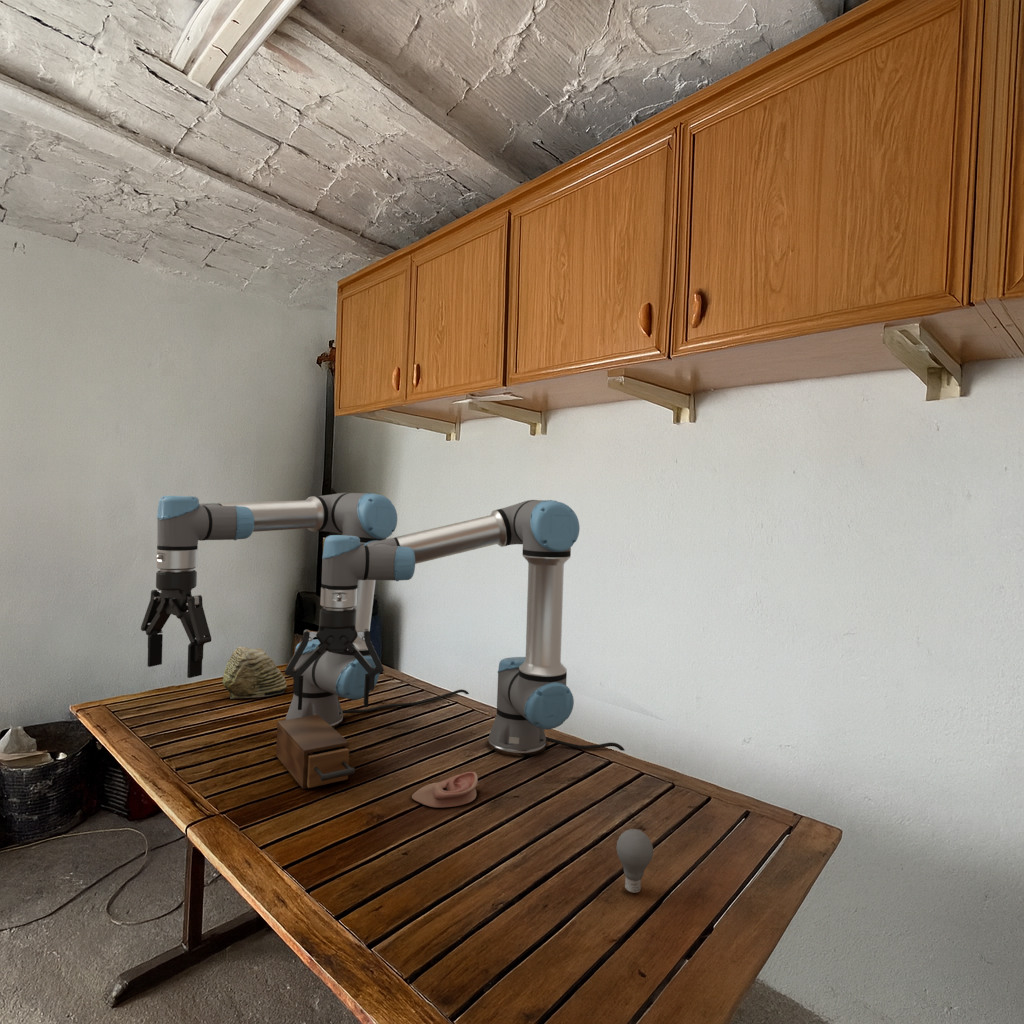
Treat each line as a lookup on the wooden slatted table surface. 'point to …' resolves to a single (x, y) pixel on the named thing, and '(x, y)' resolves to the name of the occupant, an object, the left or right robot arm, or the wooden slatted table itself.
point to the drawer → (328, 766)
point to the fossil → (252, 674)
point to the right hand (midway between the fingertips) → (333, 706)
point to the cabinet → (304, 743)
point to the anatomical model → (449, 791)
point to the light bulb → (634, 857)
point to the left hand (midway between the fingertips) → (174, 670)
